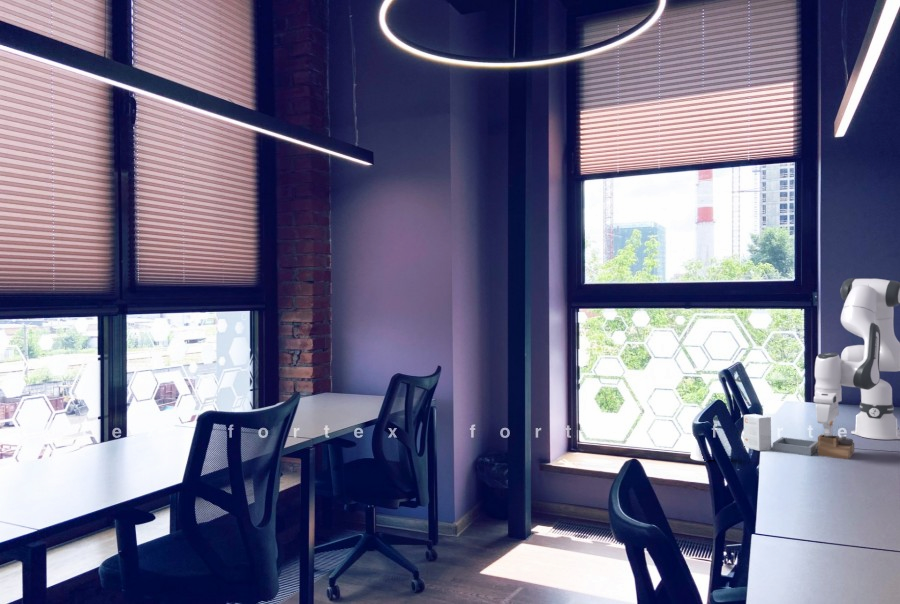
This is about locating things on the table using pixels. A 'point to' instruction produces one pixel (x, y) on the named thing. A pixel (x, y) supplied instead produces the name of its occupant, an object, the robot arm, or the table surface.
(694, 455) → the mug
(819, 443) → the wooden holder block
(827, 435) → the lock pin
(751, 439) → the small box
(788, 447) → the tray
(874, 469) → the table surface
